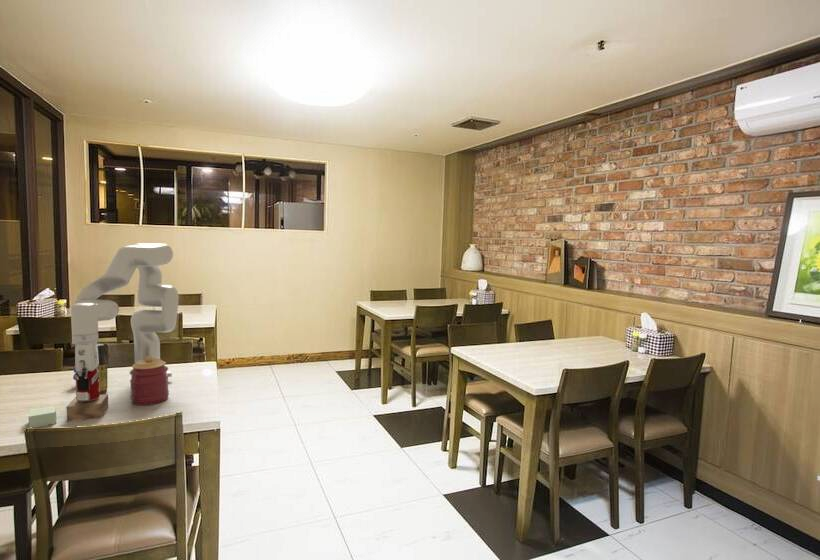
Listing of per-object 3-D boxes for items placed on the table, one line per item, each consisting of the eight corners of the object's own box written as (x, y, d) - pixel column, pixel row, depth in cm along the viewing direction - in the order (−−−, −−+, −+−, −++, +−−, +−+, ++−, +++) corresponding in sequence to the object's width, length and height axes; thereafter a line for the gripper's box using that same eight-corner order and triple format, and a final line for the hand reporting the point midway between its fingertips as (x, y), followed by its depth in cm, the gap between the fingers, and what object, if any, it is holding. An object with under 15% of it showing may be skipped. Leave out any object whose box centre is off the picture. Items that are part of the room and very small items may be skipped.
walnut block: (108, 407, 169) (107, 394, 168) (101, 417, 160) (101, 403, 159) (76, 410, 165) (75, 396, 165) (67, 420, 156) (66, 406, 155)
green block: (56, 416, 159) (55, 405, 159) (56, 423, 154) (55, 412, 153) (30, 421, 155) (29, 409, 155) (29, 428, 149) (28, 416, 149)
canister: (128, 398, 179) (127, 354, 177) (165, 391, 186) (164, 349, 185) (132, 408, 168) (131, 361, 167) (171, 401, 176) (170, 356, 175)
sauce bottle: (93, 397, 178) (91, 347, 177) (85, 394, 182) (83, 345, 180) (111, 392, 184) (109, 344, 182) (103, 389, 187) (102, 342, 185)
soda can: (87, 404, 158) (86, 370, 157) (71, 402, 159) (70, 368, 158) (104, 397, 165) (103, 365, 164) (88, 395, 166) (87, 363, 165)
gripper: (91, 343, 153) (93, 392, 155) (104, 332, 169) (105, 377, 171) (64, 344, 150) (66, 394, 152) (79, 333, 166) (81, 379, 168)
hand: (87, 385), depth 161 cm, fingers open, 9 cm apart
